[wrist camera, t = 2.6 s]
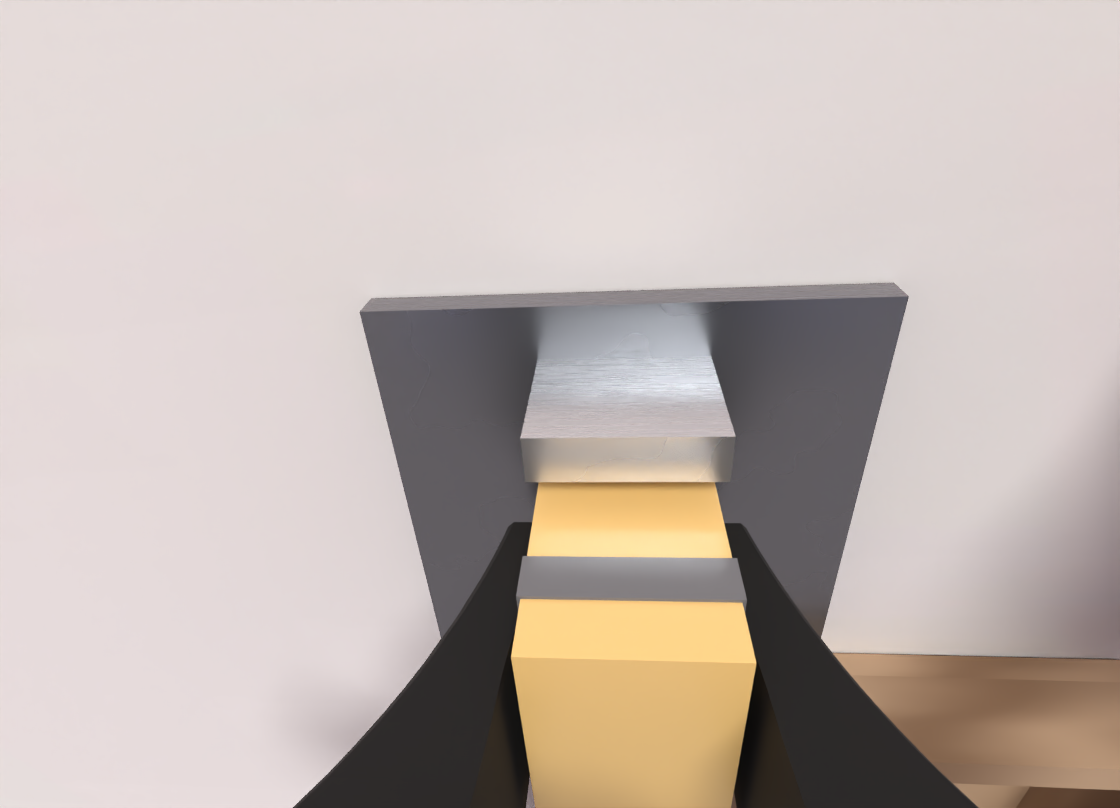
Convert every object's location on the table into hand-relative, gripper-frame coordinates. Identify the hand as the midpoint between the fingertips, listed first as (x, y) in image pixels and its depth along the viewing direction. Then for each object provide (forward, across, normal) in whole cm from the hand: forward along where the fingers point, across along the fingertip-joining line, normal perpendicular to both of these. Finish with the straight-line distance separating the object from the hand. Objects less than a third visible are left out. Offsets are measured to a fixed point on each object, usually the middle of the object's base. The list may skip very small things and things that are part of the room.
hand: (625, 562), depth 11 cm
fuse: (+1, 0, 0) cm, 1 cm away
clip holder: (+2, 0, 0) cm, 2 cm away
